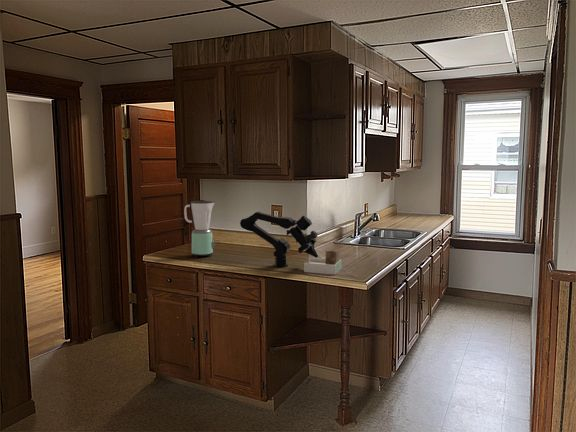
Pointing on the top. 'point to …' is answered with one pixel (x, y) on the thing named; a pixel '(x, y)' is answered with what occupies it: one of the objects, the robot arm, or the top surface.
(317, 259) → the box
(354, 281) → the top surface
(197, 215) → the mint green blender
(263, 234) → the robot arm
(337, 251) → the walnut block
